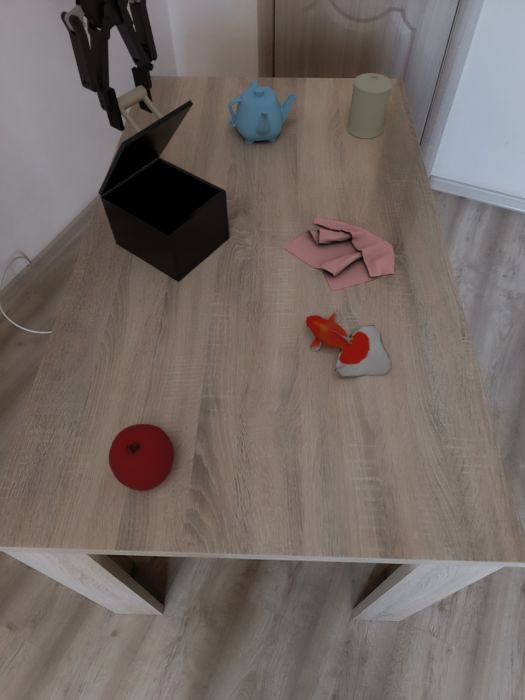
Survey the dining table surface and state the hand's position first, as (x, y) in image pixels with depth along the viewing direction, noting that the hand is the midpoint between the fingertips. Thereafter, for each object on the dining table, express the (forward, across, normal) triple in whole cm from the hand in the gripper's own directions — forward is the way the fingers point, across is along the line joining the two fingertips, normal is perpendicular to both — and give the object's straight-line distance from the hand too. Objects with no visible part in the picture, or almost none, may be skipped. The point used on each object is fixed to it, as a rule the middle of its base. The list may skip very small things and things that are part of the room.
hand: (132, 118), depth 79 cm
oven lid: (+6, 0, -1) cm, 6 cm away
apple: (+25, -38, -35) cm, 57 cm away
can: (+25, +60, -14) cm, 67 cm away
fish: (+25, -3, -48) cm, 54 cm away
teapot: (+25, +42, +6) cm, 49 cm away
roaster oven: (+25, 0, -4) cm, 25 cm away
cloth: (+25, +19, -33) cm, 46 cm away
